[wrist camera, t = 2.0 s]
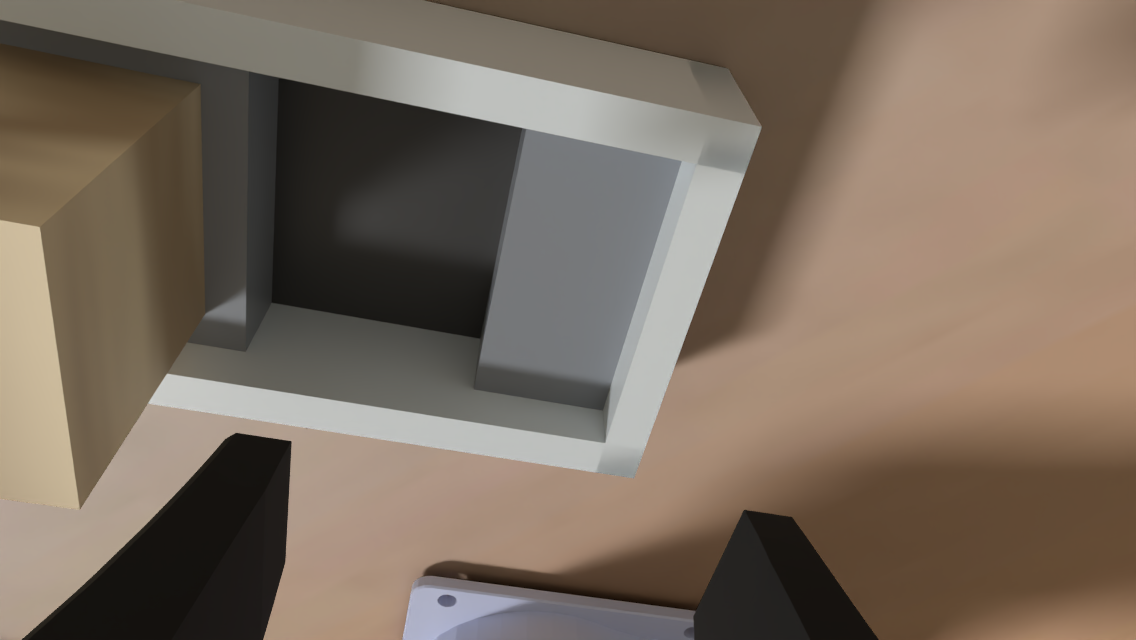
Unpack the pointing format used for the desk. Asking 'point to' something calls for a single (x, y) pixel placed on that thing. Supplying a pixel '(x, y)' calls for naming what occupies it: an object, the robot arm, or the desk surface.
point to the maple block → (90, 261)
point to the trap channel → (433, 216)
